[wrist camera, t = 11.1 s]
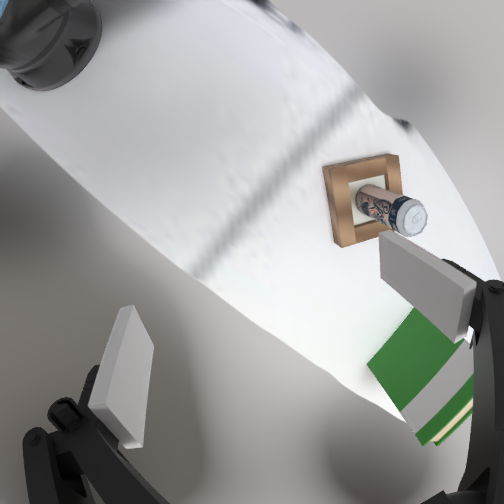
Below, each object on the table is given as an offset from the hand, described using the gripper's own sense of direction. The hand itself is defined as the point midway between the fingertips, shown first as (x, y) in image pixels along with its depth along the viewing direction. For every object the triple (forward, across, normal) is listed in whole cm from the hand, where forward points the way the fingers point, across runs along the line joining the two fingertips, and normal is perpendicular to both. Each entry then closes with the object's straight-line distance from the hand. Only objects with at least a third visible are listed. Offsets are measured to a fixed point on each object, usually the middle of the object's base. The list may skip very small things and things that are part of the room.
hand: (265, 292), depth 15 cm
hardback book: (+29, +29, -39) cm, 57 cm away
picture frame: (+29, +21, -6) cm, 36 cm away
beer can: (+27, +21, -6) cm, 35 cm away
